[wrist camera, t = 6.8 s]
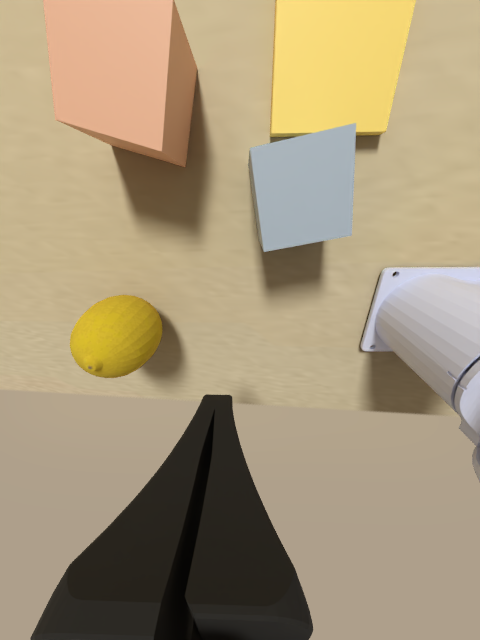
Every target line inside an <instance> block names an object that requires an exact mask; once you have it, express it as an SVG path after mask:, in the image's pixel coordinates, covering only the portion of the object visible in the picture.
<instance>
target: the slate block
mask: <svg viewBox="0 0 480 640" xmlns="http://www.w3.org/2000/svg"><path fill="white" fill-rule="evenodd" d="M355 141H356V123H353V124H349V125H345V126H341V127H336V128H332V129H328V130H324V131H320V132H315V133H311V134H307V135H303V136H298V137H294V138H290V139H286V140H282V141H277V142H273V143H269V144H265V145H260V146H256V147H252V148H250V152H249V163H248V166H249V173H250V181H251V188H252V195H253V202H254V209H255V216H256V223H257V230H258V237H259V242H260V244H261V247H262V249H263V251H264V252H267V251H272V250H277V249H283V248H288V247H293V246H299V245H304V244H309V243H315V242H320V241H325V240H331V239H336V238H341V237H347V236H352V216H353V191H354V166H355Z"/></svg>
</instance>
